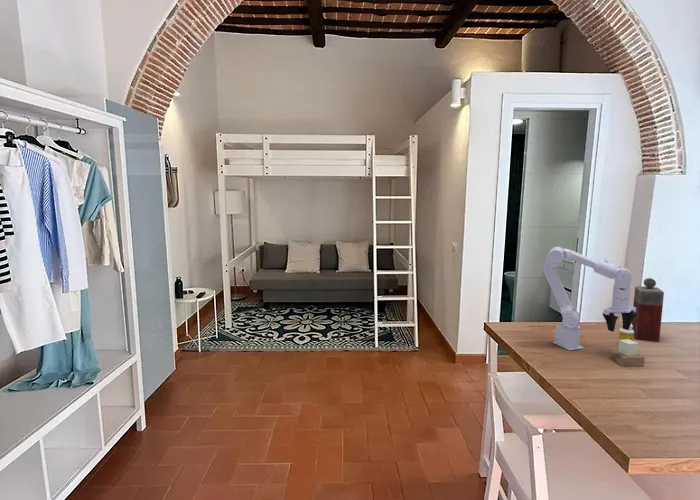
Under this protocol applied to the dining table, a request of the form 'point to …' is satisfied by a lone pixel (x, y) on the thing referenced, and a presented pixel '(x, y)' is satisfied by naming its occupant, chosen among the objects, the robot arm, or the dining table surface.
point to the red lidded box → (648, 311)
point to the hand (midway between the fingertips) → (618, 330)
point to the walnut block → (626, 359)
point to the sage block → (628, 347)
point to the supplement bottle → (626, 333)
